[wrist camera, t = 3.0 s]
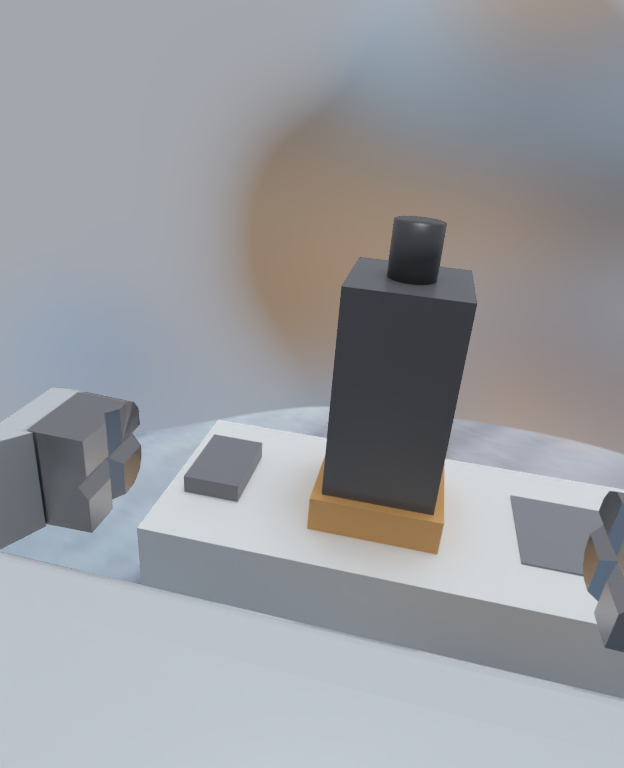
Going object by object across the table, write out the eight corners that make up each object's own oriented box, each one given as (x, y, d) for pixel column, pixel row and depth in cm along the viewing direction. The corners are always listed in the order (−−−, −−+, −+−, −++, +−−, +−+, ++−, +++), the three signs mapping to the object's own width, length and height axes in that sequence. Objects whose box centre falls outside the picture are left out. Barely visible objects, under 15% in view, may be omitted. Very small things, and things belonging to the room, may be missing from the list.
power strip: (636, 561, 29) (669, 482, 27) (708, 733, 21) (764, 640, 19) (218, 481, 32) (218, 406, 30) (143, 602, 24) (135, 511, 22)
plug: (428, 529, 28) (492, 217, 22) (425, 610, 24) (504, 244, 17) (325, 509, 29) (356, 202, 22) (302, 583, 24) (332, 225, 18)
